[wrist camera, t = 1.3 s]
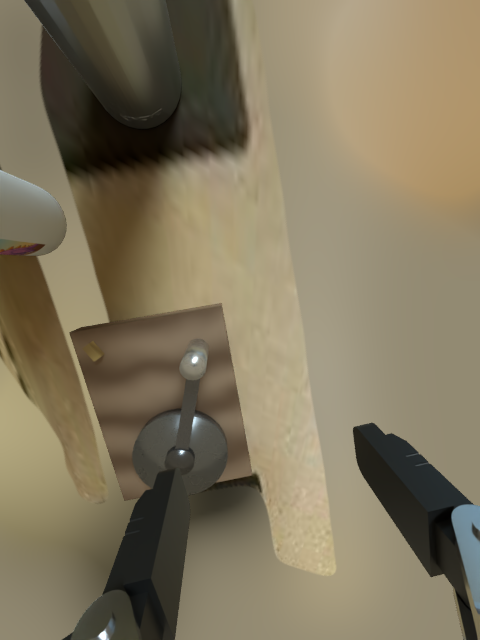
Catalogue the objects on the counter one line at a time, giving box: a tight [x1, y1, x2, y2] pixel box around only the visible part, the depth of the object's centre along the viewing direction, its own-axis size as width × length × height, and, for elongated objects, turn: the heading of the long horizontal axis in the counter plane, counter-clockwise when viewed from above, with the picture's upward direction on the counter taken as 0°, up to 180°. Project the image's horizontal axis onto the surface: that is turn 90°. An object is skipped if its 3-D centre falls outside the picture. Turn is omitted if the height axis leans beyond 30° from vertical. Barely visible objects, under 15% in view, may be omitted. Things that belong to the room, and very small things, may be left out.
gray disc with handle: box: [132, 338, 228, 495], centre depth 29 cm, size 22×12×8 cm, turn 169°
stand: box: [70, 303, 252, 500], centre depth 33 cm, size 24×18×4 cm
